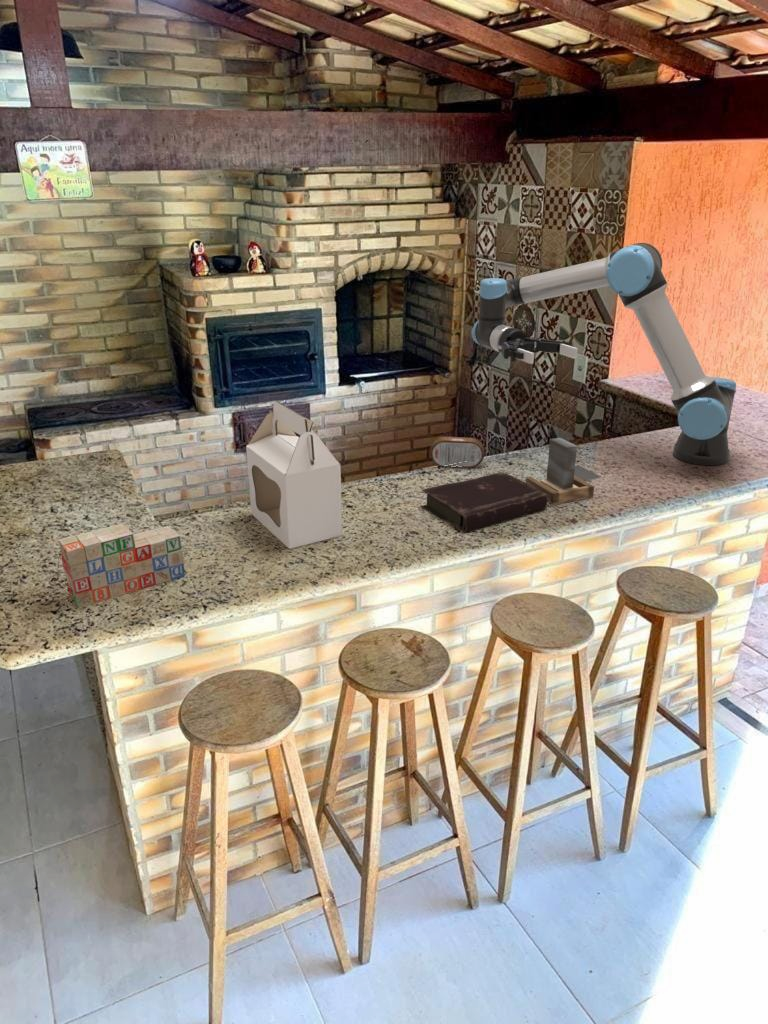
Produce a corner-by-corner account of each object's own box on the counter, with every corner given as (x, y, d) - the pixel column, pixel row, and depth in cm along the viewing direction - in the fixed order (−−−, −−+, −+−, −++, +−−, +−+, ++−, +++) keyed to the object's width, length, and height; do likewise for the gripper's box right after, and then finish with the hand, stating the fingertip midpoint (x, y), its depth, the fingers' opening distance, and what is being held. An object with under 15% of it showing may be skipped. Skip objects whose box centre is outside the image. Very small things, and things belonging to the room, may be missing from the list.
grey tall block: (558, 483, 198) (563, 436, 193) (577, 494, 191) (583, 445, 186) (539, 487, 196) (544, 439, 190) (558, 498, 189) (563, 449, 184)
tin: (483, 465, 213) (485, 437, 209) (483, 469, 210) (485, 440, 206) (429, 463, 214) (430, 435, 211) (429, 467, 211) (430, 439, 208)
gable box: (343, 536, 172) (340, 416, 160) (289, 550, 165) (282, 426, 154) (300, 502, 189) (295, 392, 177) (250, 514, 183) (241, 400, 171)
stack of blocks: (174, 565, 159) (167, 511, 154) (185, 577, 154) (179, 522, 149) (68, 595, 148) (57, 538, 143) (77, 608, 143) (66, 550, 138)
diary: (546, 512, 185) (549, 493, 183) (465, 536, 173) (466, 516, 171) (497, 486, 200) (499, 469, 197) (419, 507, 187) (419, 488, 185)
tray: (563, 482, 201) (565, 470, 200) (592, 498, 191) (594, 486, 190) (525, 489, 197) (526, 477, 195) (552, 506, 187) (553, 494, 185)
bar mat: (578, 466, 212) (578, 465, 212) (601, 478, 204) (601, 477, 203) (548, 471, 208) (548, 470, 208) (571, 484, 200) (571, 482, 200)
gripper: (545, 350, 219) (592, 365, 202) (470, 358, 210) (512, 375, 192) (547, 324, 216) (595, 337, 198) (471, 331, 207) (514, 345, 189)
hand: (554, 356), depth 195 cm, fingers open, 13 cm apart
